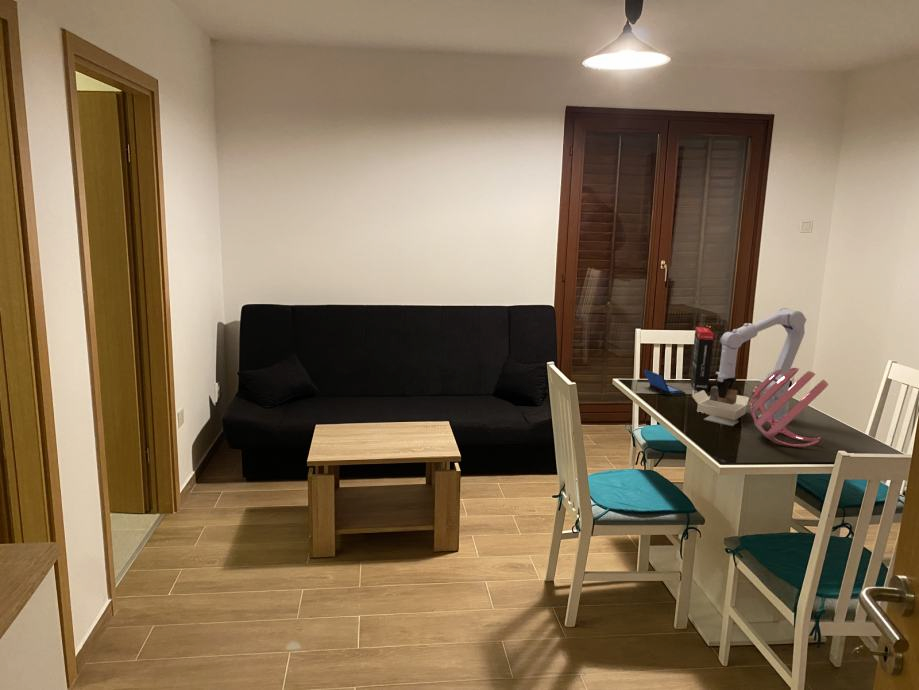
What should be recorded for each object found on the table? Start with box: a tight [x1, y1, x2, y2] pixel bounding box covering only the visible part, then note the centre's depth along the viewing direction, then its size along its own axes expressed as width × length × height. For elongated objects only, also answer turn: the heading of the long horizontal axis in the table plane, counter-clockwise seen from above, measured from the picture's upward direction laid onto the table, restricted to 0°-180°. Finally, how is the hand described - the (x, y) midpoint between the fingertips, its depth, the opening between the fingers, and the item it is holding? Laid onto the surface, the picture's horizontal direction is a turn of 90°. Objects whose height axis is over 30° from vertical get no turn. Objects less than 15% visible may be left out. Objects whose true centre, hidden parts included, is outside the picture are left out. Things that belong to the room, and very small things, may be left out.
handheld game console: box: [643, 368, 686, 397], centre depth 308 cm, size 16×13×9 cm
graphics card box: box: [689, 326, 715, 392], centre depth 319 cm, size 17×7×27 cm, turn 168°
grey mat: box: [703, 415, 740, 427], centre depth 266 cm, size 11×8×1 cm
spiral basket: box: [749, 367, 829, 448], centre depth 242 cm, size 28×28×27 cm
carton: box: [691, 390, 756, 421], centre depth 279 cm, size 21×16×6 cm
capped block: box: [709, 385, 738, 405], centre depth 269 cm, size 9×4×5 cm, turn 51°
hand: (723, 396), depth 269 cm, fingers closed on capped block, 4 cm apart
